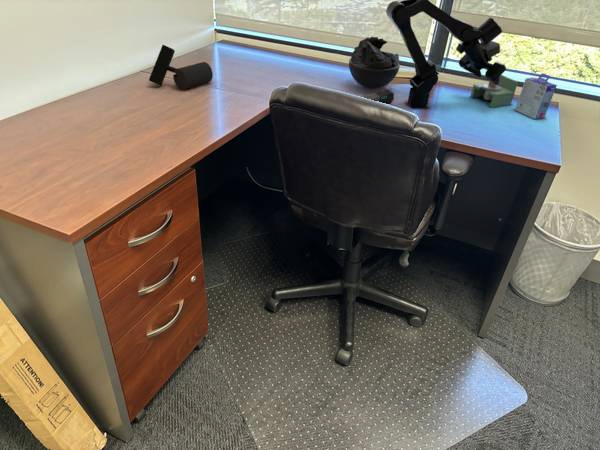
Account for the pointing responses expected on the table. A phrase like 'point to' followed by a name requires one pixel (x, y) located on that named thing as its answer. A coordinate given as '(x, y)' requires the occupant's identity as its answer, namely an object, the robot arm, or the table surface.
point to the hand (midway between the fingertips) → (488, 80)
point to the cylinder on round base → (490, 89)
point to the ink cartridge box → (535, 97)
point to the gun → (382, 96)
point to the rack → (498, 92)
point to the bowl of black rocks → (373, 64)
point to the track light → (180, 71)
